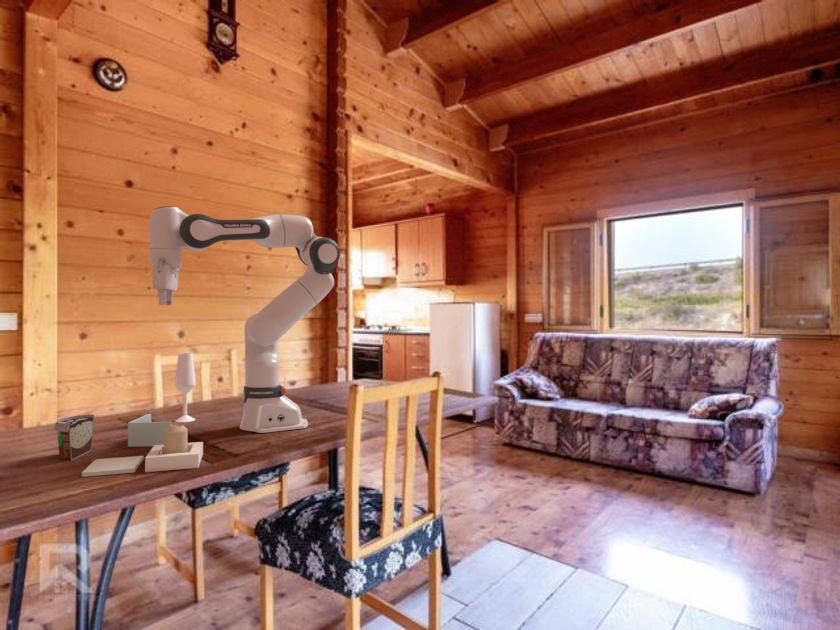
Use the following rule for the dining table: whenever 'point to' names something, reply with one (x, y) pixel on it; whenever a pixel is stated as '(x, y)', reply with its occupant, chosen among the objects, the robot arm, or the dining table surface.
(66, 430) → the food container
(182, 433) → the candle
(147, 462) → the pocket block
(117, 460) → the cream tile
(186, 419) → the champagne flute
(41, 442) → the dining table surface
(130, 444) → the l-shaped corner panel
